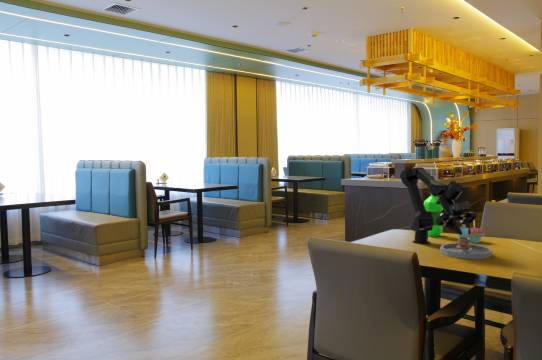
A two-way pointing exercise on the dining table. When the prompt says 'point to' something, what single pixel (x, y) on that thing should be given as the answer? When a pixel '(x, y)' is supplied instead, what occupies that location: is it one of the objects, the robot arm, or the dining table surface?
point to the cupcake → (475, 234)
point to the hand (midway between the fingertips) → (465, 234)
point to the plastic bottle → (434, 214)
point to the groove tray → (466, 251)
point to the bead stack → (463, 238)
